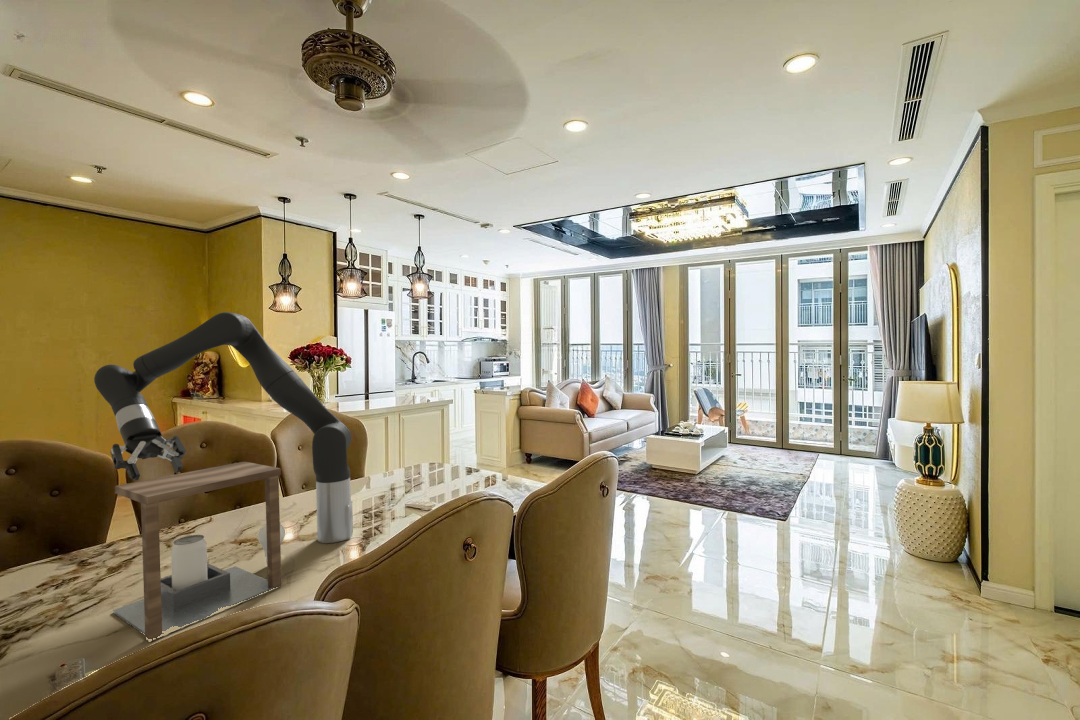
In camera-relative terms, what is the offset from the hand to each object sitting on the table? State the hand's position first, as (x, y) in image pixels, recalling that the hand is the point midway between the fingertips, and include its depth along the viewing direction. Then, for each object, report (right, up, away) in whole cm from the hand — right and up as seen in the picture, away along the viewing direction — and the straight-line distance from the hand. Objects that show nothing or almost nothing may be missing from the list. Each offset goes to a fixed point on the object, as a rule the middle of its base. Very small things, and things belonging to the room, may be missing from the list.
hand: (158, 474), depth 119 cm
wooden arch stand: (+23, -24, -15) cm, 36 cm away
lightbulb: (+27, -24, +3) cm, 36 cm away
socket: (+20, -24, -14) cm, 34 cm away
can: (+16, -24, -12) cm, 31 cm away
